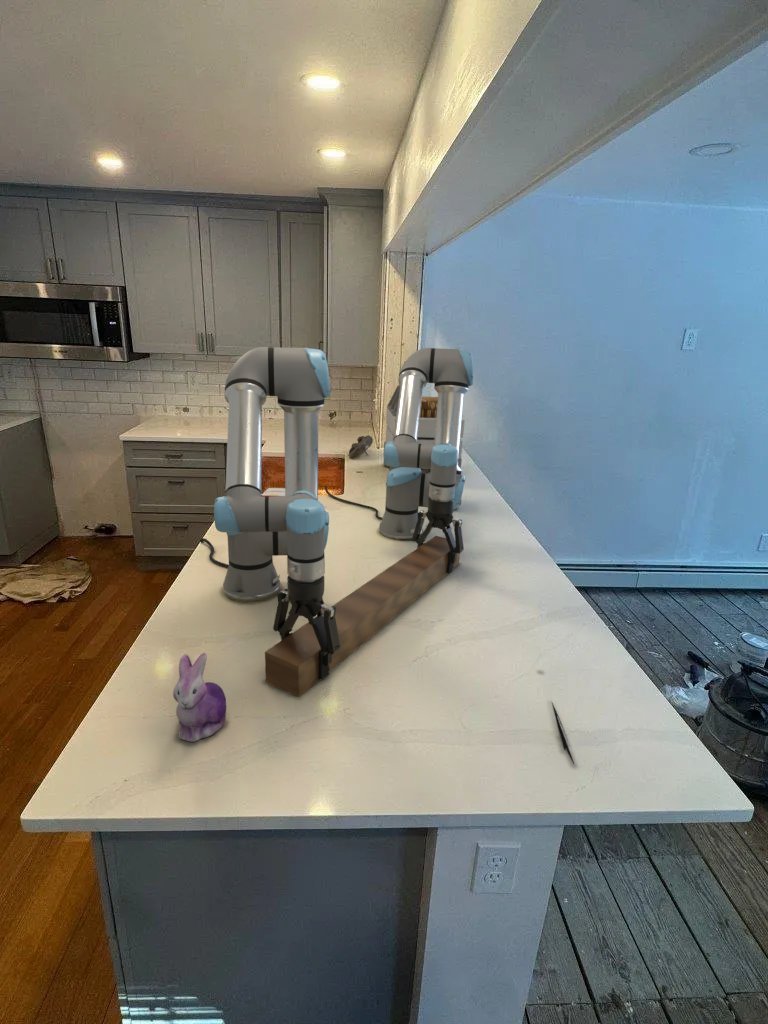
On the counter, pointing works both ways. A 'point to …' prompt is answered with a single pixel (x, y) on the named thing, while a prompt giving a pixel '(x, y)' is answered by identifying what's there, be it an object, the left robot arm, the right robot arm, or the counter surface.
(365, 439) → the fossil
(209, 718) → the figurine
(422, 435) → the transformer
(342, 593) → the counter surface
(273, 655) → the long beam
